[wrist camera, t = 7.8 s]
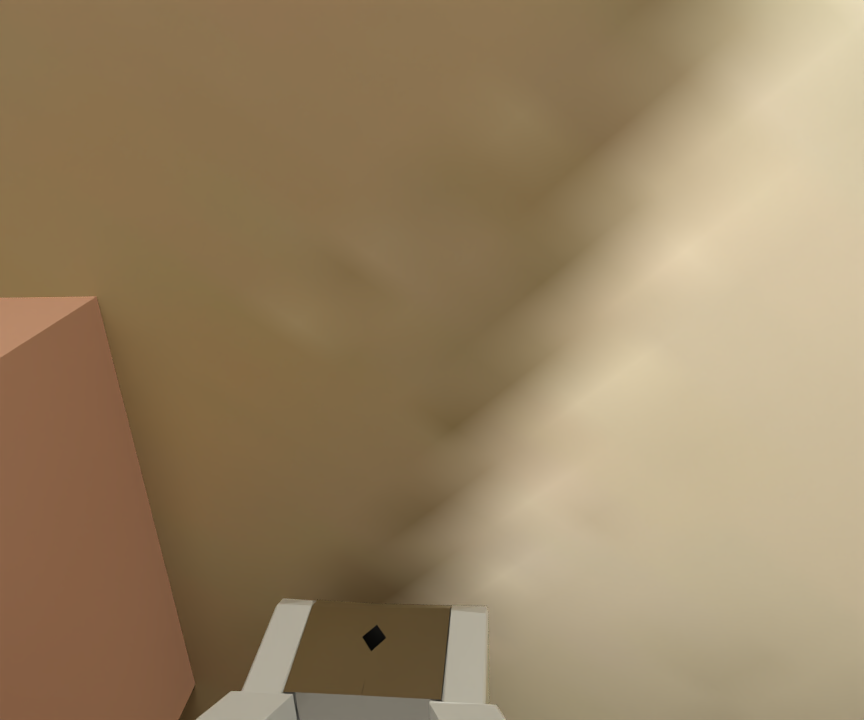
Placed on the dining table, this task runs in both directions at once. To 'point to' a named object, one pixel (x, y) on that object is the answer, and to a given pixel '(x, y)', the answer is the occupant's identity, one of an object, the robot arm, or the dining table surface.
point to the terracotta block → (77, 532)
